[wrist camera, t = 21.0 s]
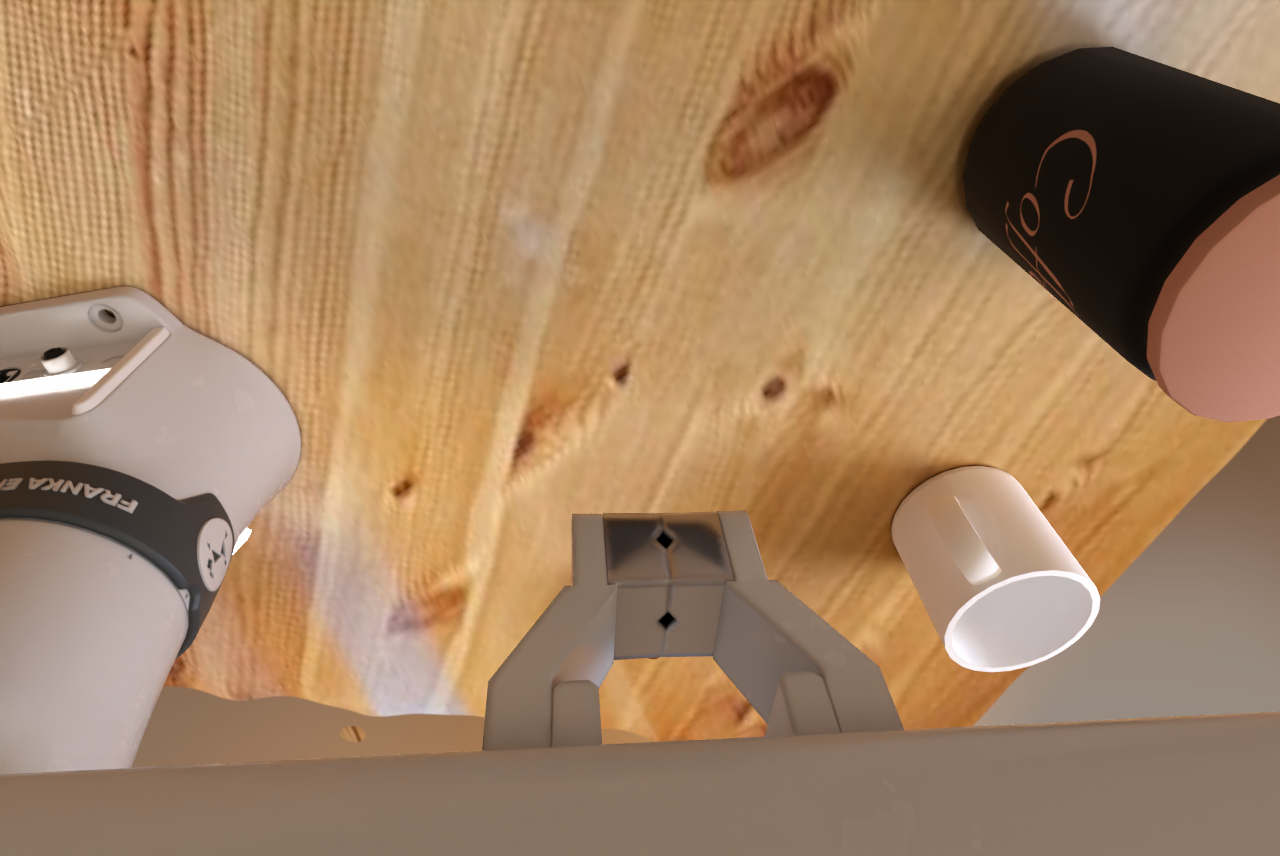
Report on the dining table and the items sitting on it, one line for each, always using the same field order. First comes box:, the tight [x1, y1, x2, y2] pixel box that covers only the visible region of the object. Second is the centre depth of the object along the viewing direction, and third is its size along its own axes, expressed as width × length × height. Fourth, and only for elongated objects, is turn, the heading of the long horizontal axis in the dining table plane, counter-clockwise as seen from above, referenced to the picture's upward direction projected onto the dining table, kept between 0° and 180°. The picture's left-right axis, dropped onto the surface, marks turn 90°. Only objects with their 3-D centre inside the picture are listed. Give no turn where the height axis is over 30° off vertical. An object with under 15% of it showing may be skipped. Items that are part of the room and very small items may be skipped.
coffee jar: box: [963, 47, 1280, 422], centre depth 35 cm, size 11×11×18 cm
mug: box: [891, 466, 1100, 672], centre depth 53 cm, size 13×10×10 cm
